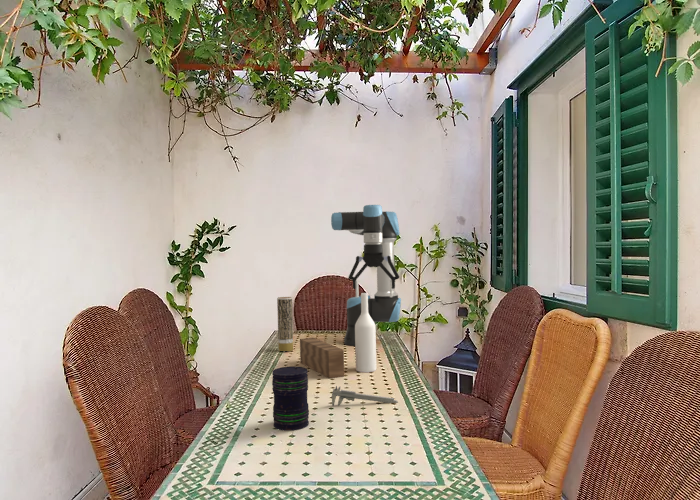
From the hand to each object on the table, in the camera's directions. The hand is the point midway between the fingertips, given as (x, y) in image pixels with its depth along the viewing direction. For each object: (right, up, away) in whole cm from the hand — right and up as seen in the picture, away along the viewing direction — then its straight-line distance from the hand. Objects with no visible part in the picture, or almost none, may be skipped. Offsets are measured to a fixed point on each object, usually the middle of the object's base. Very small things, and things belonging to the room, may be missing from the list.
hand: (374, 297), depth 209 cm
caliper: (-5, -29, -47) cm, 56 cm away
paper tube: (-40, -29, +36) cm, 61 cm away
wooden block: (-21, -28, -1) cm, 35 cm away
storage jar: (-26, -30, -64) cm, 75 cm away
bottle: (-3, -28, -4) cm, 29 cm away
